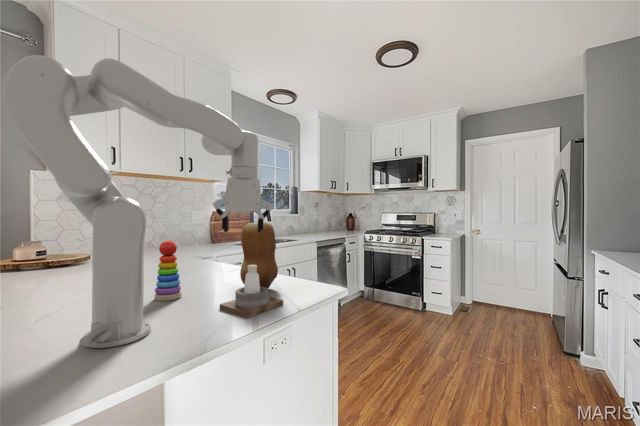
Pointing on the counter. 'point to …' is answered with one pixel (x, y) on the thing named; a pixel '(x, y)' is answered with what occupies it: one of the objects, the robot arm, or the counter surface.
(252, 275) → the pepper shaker
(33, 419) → the counter surface
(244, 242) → the butternut squash
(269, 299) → the shaft housing
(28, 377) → the counter surface
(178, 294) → the stacking toy
